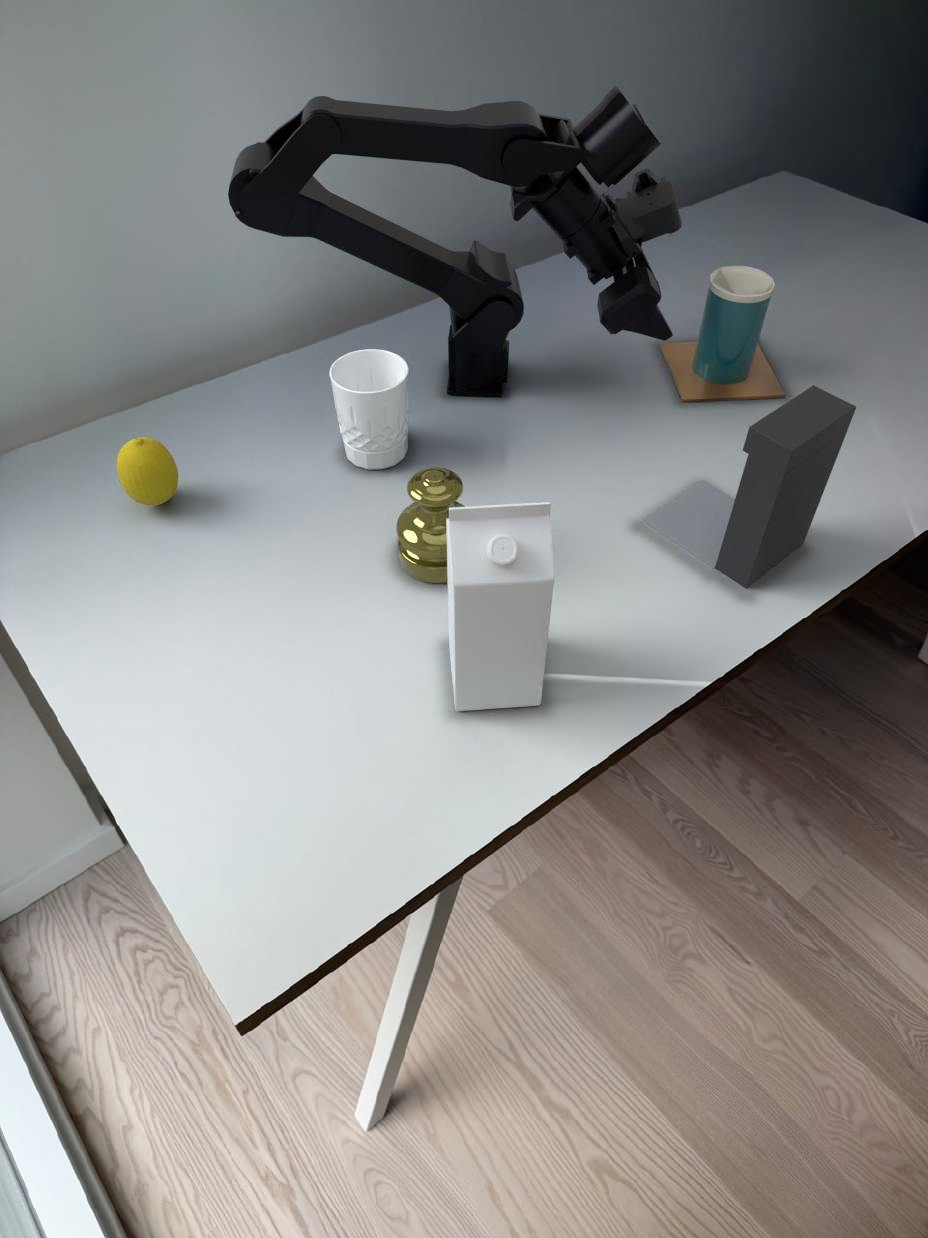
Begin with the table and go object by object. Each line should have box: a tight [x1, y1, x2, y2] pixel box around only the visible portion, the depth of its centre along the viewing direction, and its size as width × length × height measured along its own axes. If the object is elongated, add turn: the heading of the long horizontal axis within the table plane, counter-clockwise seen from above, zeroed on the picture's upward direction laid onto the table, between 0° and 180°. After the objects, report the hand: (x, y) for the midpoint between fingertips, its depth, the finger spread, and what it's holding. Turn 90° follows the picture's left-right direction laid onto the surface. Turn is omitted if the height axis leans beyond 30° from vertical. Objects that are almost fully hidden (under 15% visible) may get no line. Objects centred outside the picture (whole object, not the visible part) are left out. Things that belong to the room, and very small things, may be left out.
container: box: [692, 265, 776, 384], centre depth 102 cm, size 7×7×11 cm
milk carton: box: [446, 501, 555, 712], centre depth 69 cm, size 7×7×19 cm
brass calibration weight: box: [396, 466, 466, 584], centre depth 82 cm, size 7×7×10 cm
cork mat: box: [659, 341, 786, 403], centre depth 106 cm, size 12×12×1 cm
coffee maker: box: [641, 385, 857, 589], centre depth 81 cm, size 12×10×16 cm
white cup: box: [328, 348, 410, 470], centre depth 93 cm, size 8×8×10 cm
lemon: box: [116, 436, 179, 507], centre depth 88 cm, size 6×6×8 cm
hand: (662, 313), depth 100 cm, fingers open, 9 cm apart
